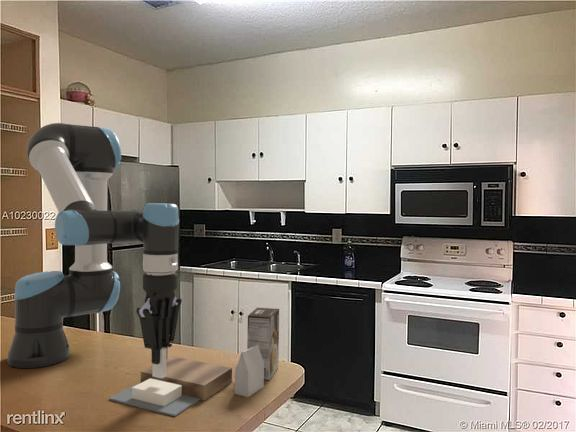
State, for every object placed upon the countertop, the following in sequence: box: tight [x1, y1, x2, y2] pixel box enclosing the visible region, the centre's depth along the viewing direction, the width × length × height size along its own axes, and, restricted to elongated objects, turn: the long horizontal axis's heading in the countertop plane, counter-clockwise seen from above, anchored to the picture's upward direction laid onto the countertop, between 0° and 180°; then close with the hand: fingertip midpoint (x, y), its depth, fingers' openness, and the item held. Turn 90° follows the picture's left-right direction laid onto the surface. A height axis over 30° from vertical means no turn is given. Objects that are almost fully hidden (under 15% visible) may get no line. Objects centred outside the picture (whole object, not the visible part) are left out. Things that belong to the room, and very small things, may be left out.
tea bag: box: [234, 345, 265, 398], centre depth 111 cm, size 4×7×10 cm, turn 151°
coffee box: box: [246, 307, 280, 381], centre depth 122 cm, size 9×6×16 cm
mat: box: [108, 383, 201, 417], centre depth 105 cm, size 18×9×1 cm, turn 66°
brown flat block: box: [140, 356, 233, 402], centre depth 114 cm, size 18×12×4 cm, turn 66°
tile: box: [131, 378, 182, 406], centre depth 105 cm, size 9×6×2 cm, turn 66°
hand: (159, 376), depth 106 cm, fingers closed
